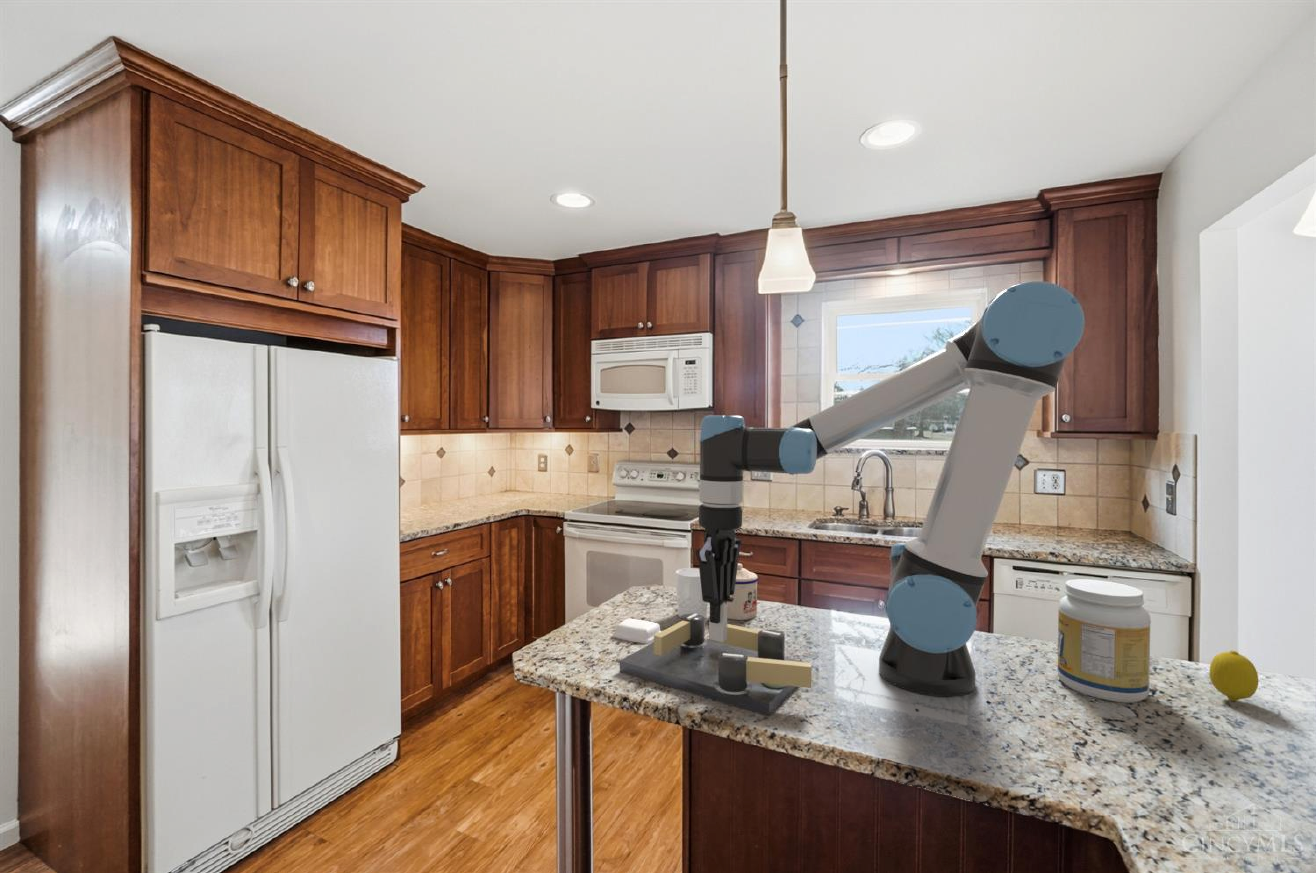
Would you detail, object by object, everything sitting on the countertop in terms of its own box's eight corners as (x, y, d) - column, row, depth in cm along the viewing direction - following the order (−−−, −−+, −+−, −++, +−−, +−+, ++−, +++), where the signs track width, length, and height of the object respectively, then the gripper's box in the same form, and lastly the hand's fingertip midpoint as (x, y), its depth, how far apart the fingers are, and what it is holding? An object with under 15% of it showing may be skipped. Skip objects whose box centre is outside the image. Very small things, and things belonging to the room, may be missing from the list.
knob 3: (716, 689, 91) (716, 659, 91) (720, 676, 96) (720, 648, 95) (811, 699, 88) (811, 668, 88) (810, 686, 92) (811, 656, 92)
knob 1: (688, 634, 115) (688, 610, 115) (708, 639, 113) (708, 614, 112) (646, 658, 103) (646, 631, 103) (668, 664, 101) (668, 636, 101)
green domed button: (791, 681, 95) (791, 676, 95) (782, 690, 91) (782, 686, 91) (768, 675, 97) (768, 671, 97) (758, 684, 94) (758, 679, 94)
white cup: (673, 620, 131) (673, 575, 130) (677, 609, 138) (678, 567, 138) (708, 622, 129) (708, 577, 129) (711, 611, 137) (711, 568, 137)
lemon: (1249, 712, 89) (1250, 660, 89) (1202, 697, 94) (1203, 647, 94) (1264, 704, 92) (1265, 653, 92) (1217, 690, 97) (1218, 642, 96)
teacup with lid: (750, 623, 129) (751, 570, 128) (712, 617, 133) (712, 566, 133) (766, 608, 139) (766, 559, 139) (730, 603, 143) (730, 555, 143)
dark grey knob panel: (810, 674, 102) (810, 662, 102) (766, 719, 86) (766, 704, 86) (674, 641, 118) (674, 630, 118) (616, 674, 102) (616, 662, 102)
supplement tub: (1058, 667, 106) (1059, 573, 106) (1145, 684, 99) (1147, 584, 98) (1056, 691, 96) (1057, 588, 96) (1153, 713, 89) (1155, 602, 89)
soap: (664, 635, 122) (664, 621, 122) (648, 646, 116) (648, 631, 116) (627, 628, 126) (627, 615, 126) (610, 638, 120) (610, 624, 120)
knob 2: (788, 657, 104) (788, 631, 104) (778, 666, 100) (778, 639, 100) (716, 641, 112) (716, 616, 112) (704, 648, 108) (705, 623, 108)
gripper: (718, 498, 109) (716, 624, 109) (682, 506, 98) (679, 646, 99) (756, 502, 105) (753, 633, 105) (722, 510, 94) (719, 656, 94)
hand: (717, 639), depth 102 cm, fingers closed
